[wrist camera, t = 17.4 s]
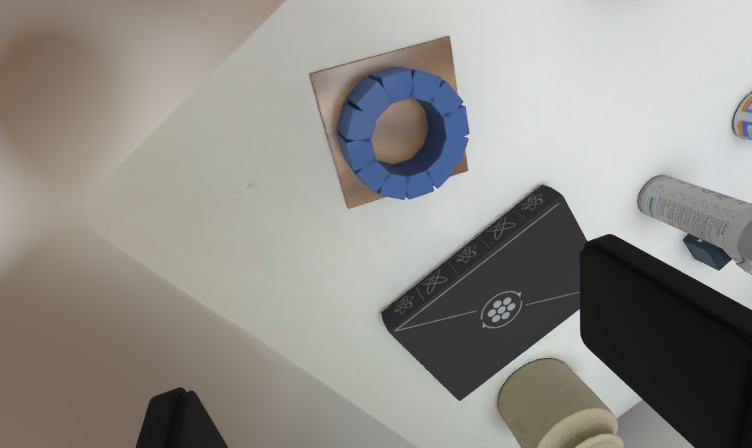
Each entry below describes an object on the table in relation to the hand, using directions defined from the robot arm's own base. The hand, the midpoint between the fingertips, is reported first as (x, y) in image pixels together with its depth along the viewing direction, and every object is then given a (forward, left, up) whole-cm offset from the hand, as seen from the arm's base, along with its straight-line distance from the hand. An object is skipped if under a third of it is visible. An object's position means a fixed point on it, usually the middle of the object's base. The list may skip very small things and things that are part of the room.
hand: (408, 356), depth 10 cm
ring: (+2, +8, -28) cm, 29 cm away
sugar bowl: (+43, +20, -28) cm, 55 cm away
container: (+18, +36, -28) cm, 49 cm away
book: (+23, +15, -28) cm, 40 cm away
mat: (+2, +8, -28) cm, 29 cm away
